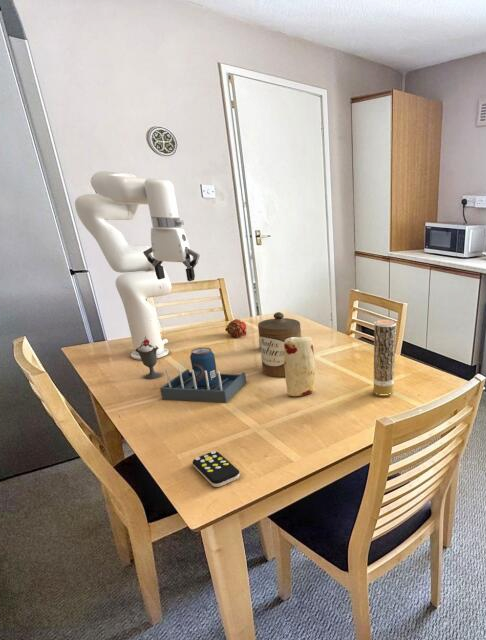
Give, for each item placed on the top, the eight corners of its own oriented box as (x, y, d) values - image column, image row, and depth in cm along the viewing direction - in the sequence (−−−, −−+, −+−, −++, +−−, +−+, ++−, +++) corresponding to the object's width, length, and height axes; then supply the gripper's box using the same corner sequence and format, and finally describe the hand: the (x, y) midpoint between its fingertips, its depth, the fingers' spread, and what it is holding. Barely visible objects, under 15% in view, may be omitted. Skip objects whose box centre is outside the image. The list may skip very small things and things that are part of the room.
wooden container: (254, 372, 150) (247, 314, 141) (279, 360, 163) (274, 305, 154) (288, 380, 145) (283, 320, 136) (311, 366, 158) (308, 311, 149)
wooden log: (396, 391, 142) (398, 321, 132) (388, 399, 136) (390, 326, 126) (378, 387, 144) (379, 318, 134) (370, 395, 138) (370, 323, 128)
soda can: (190, 386, 133) (183, 351, 128) (207, 378, 139) (202, 345, 134) (206, 390, 131) (200, 355, 126) (223, 382, 137) (218, 349, 132)
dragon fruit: (239, 343, 183) (234, 340, 192) (253, 331, 185) (248, 327, 194) (224, 329, 178) (220, 326, 188) (239, 316, 180) (235, 314, 190)
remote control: (215, 490, 90) (214, 482, 89) (191, 465, 97) (190, 458, 96) (242, 477, 94) (241, 470, 93) (217, 455, 101) (216, 448, 101)
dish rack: (188, 379, 142) (184, 353, 138) (246, 382, 142) (243, 356, 138) (162, 399, 127) (156, 370, 123) (226, 402, 127) (222, 374, 123)
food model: (290, 401, 131) (285, 341, 123) (283, 393, 136) (278, 335, 128) (319, 394, 136) (316, 337, 128) (311, 387, 141) (308, 331, 133)
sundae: (154, 380, 139) (144, 338, 133) (137, 378, 140) (127, 336, 134) (168, 373, 145) (160, 333, 139) (152, 371, 146) (143, 331, 140)
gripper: (200, 224, 129) (208, 279, 136) (145, 221, 129) (156, 276, 136) (187, 225, 123) (197, 283, 130) (130, 222, 122) (142, 280, 129)
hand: (176, 279), depth 133 cm, fingers open, 9 cm apart
